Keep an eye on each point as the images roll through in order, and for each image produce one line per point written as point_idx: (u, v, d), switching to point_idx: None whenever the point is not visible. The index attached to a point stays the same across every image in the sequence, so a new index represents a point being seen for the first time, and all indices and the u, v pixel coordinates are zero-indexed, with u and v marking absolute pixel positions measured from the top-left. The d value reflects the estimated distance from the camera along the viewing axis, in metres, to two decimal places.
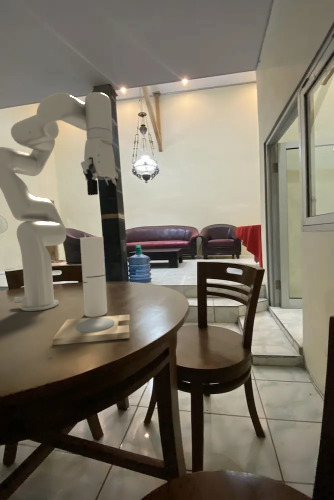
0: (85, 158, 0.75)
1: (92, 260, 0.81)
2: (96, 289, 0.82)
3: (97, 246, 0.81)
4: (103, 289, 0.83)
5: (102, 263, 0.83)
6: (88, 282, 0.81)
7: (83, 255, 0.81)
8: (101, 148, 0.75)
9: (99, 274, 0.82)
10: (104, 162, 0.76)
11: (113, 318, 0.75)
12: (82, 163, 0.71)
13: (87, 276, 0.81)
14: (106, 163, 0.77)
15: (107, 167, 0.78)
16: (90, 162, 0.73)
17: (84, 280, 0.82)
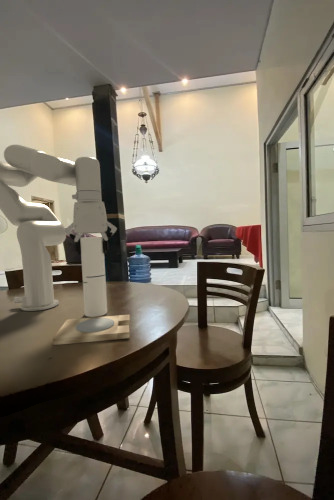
0: (105, 218, 0.82)
1: (92, 260, 0.81)
2: (97, 289, 0.82)
3: (97, 245, 0.81)
4: (103, 289, 0.83)
5: (102, 263, 0.83)
6: (88, 282, 0.81)
7: (83, 255, 0.81)
8: None
9: (99, 274, 0.82)
10: None
11: (113, 318, 0.75)
12: (116, 228, 0.84)
13: (87, 276, 0.81)
14: None
15: None
16: None
17: (84, 280, 0.82)
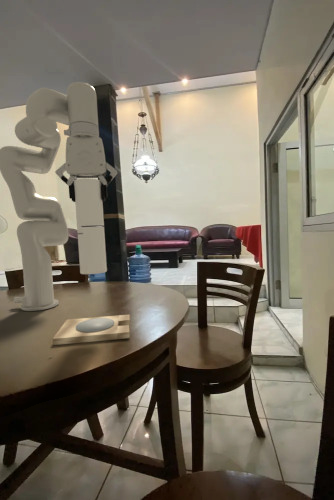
0: (104, 157, 0.69)
1: (88, 206, 0.68)
2: (94, 241, 0.69)
3: (94, 189, 0.69)
4: (102, 242, 0.70)
5: (100, 211, 0.70)
6: (84, 232, 0.68)
7: (78, 200, 0.68)
8: None
9: (97, 223, 0.69)
10: None
11: (113, 318, 0.75)
12: None
13: (83, 225, 0.68)
14: None
15: None
16: None
17: (79, 231, 0.69)
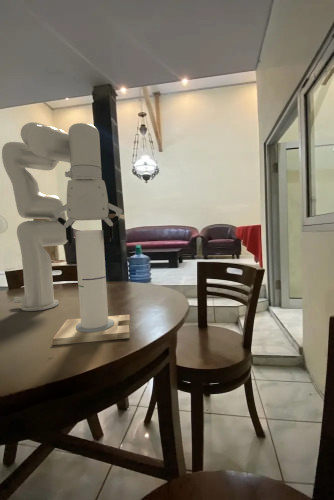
0: (106, 200, 0.66)
1: (89, 259, 0.65)
2: (95, 295, 0.66)
3: (96, 241, 0.66)
4: (103, 294, 0.68)
5: (102, 262, 0.68)
6: (85, 286, 0.66)
7: (78, 252, 0.66)
8: None
9: (98, 276, 0.67)
10: None
11: (113, 318, 0.75)
12: None
13: (83, 278, 0.66)
14: None
15: None
16: None
17: (80, 283, 0.67)
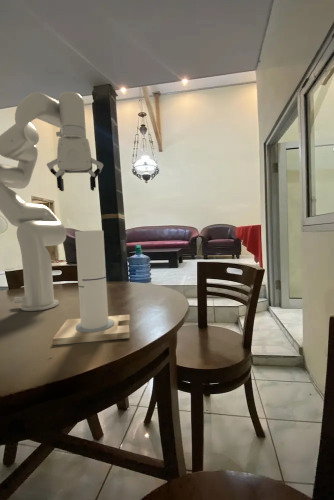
0: (90, 155, 0.82)
1: (90, 259, 0.65)
2: (95, 295, 0.66)
3: (96, 241, 0.66)
4: (103, 295, 0.68)
5: (102, 263, 0.67)
6: (85, 286, 0.66)
7: (79, 253, 0.66)
8: None
9: (98, 276, 0.66)
10: None
11: (113, 318, 0.75)
12: (102, 164, 0.84)
13: (84, 279, 0.66)
14: None
15: None
16: None
17: (80, 284, 0.66)
